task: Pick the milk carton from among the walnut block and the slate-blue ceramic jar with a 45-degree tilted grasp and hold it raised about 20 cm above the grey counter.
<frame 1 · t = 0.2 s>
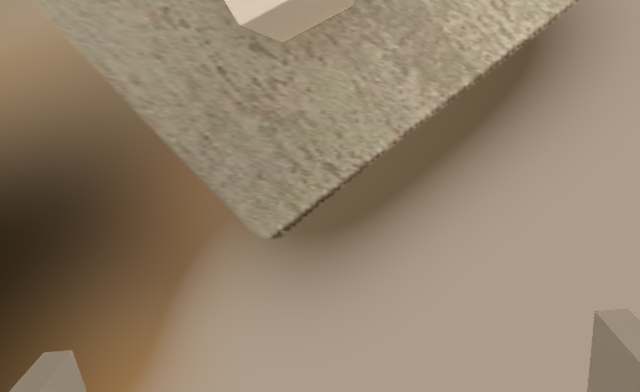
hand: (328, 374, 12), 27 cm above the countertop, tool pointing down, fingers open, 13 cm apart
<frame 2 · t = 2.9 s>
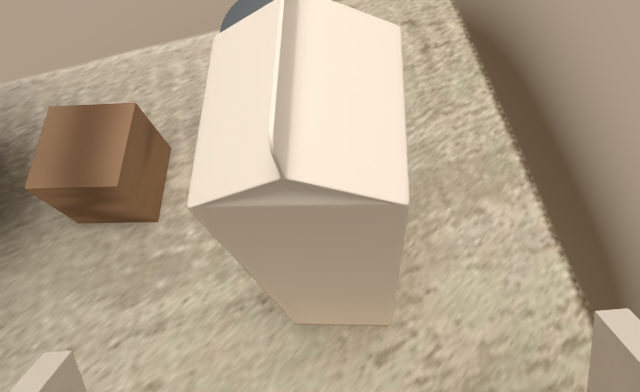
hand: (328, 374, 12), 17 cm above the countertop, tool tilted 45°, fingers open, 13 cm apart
walnut block: (126, 185, 35), on the countertop
milk: (343, 278, 31), on the countertop
slate jar: (301, 111, 36), on the countertop
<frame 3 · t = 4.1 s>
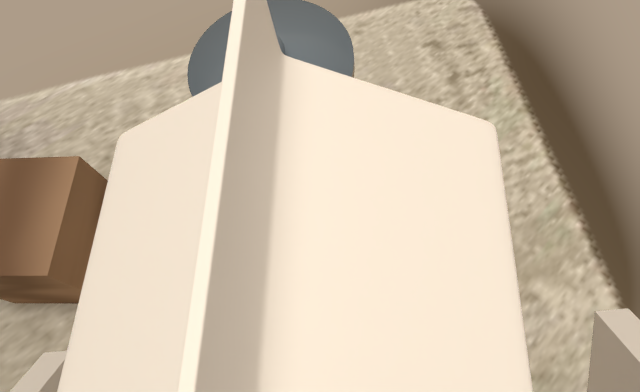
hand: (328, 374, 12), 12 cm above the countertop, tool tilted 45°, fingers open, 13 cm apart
walnut block: (77, 252, 28), on the countertop
milk: (353, 389, 23), on the countertop
slate jar: (299, 157, 29), on the countertop
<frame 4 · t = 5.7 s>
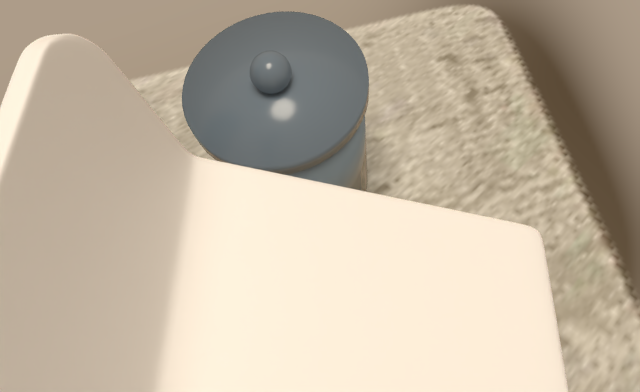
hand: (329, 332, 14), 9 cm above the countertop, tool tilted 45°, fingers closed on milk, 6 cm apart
slate jar: (304, 181, 27), on the countertop
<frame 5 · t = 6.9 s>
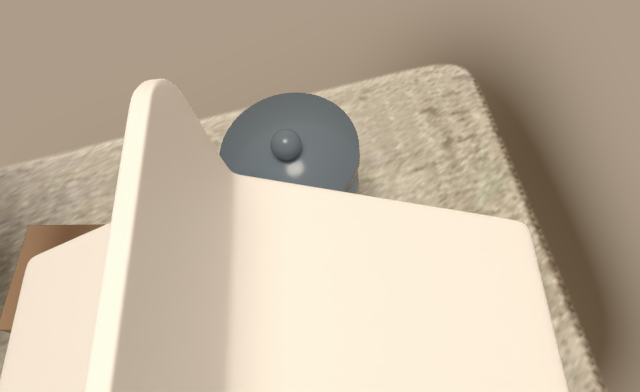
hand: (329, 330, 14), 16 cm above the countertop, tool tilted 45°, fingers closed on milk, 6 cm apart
walnut block: (116, 298, 32), on the countertop
slate jar: (310, 215, 33), on the countertop
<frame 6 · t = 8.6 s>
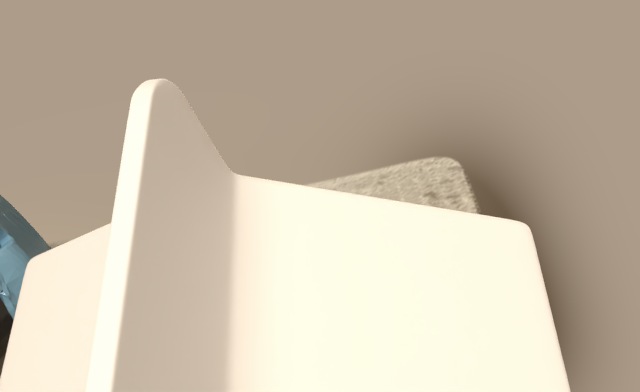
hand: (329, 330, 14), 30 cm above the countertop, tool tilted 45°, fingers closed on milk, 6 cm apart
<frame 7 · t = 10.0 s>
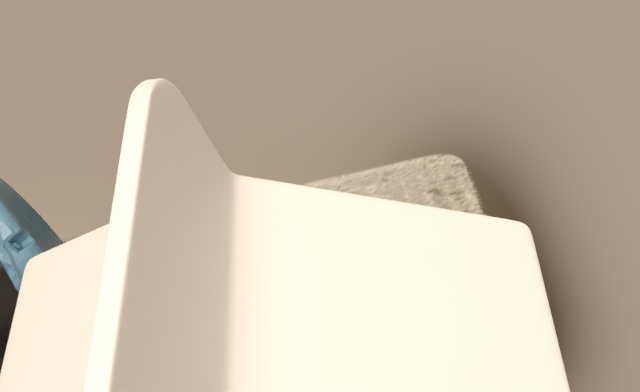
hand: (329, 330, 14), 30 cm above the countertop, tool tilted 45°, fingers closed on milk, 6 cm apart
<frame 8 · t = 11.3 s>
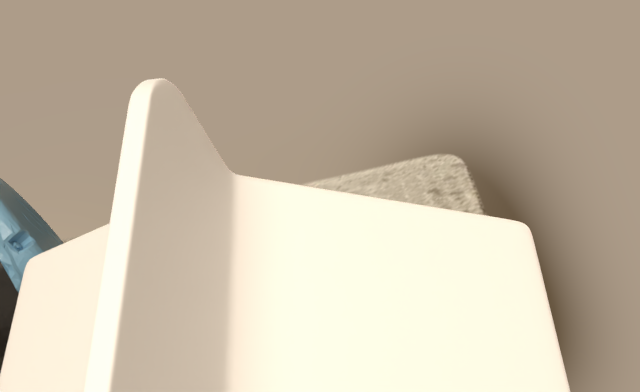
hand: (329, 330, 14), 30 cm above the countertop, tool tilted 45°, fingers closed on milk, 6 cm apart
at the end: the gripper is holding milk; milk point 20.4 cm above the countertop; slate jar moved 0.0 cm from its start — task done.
